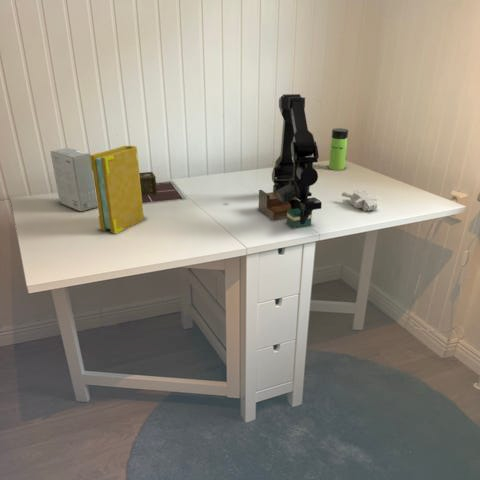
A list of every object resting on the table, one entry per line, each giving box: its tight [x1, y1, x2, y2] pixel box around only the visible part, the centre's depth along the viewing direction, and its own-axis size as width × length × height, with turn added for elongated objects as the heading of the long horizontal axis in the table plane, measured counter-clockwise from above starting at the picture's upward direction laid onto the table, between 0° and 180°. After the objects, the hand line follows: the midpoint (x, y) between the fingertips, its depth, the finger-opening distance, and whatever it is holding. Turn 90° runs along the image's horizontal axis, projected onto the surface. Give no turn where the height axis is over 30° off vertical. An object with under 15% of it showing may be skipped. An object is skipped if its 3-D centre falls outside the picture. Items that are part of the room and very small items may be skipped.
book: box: [90, 145, 145, 235], centre depth 175 cm, size 17×7×25 cm, turn 148°
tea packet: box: [286, 208, 313, 229], centre depth 180 cm, size 7×5×5 cm
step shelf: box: [258, 189, 291, 221], centre depth 190 cm, size 13×12×8 cm
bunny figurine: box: [341, 189, 378, 212], centre depth 197 cm, size 10×5×15 cm
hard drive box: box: [50, 147, 98, 212], centre depth 193 cm, size 16×8×20 cm, turn 47°
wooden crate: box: [139, 171, 158, 197], centre depth 210 cm, size 7×7×7 cm
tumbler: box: [328, 127, 349, 171], centre depth 240 cm, size 8×8×17 cm
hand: (298, 221), depth 181 cm, fingers closed on tea packet, 5 cm apart
